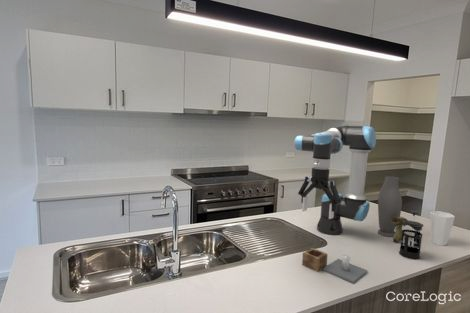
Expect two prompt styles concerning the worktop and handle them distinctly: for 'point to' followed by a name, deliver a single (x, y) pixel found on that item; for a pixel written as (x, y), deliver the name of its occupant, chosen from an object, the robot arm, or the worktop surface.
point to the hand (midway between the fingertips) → (317, 214)
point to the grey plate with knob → (345, 270)
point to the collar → (314, 259)
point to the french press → (411, 247)
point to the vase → (389, 206)
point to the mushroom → (398, 227)
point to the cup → (441, 227)
